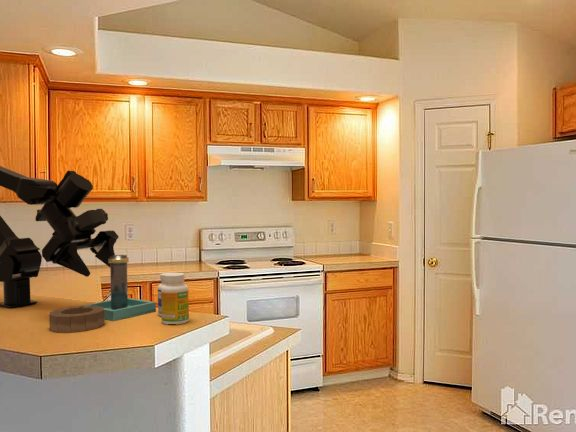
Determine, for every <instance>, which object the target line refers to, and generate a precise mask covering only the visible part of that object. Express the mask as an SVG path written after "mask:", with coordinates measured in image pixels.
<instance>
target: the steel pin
mask: <svg viewBox="0 0 576 432" xmlns="http://www.w3.org/2000/svg"><path fill="white" fill-rule="evenodd" d="M109 263H110V267H109V270H110V274H109V275H110V300H111V309H112V310H116V309H121V308H126V307H128V298H129V297H128V263H129V257H128V254H115V255H112V256H110V258H109Z"/></svg>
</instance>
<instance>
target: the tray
mask: <svg viewBox="0 0 576 432" xmlns="http://www.w3.org/2000/svg"><path fill="white" fill-rule="evenodd" d="M81 306H100V307H103V308H104V319H105V321H106V320H108V321H112V322H114V321H119V319H120V320H124V319H128V318H131V317H132V318H133V317H137V316H141V315H146V314H150V313H154V312H156V311H157V302H156V301H149V300H145V299H137V298H131V297H128V307H126V308H121V309H116V310H112V309H111V299H109V300H104V301H98V302H94V303H88V304H82V305H81Z"/></svg>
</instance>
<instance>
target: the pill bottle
mask: <svg viewBox="0 0 576 432" xmlns="http://www.w3.org/2000/svg"><path fill="white" fill-rule="evenodd" d="M169 273H175V272H174V271H173V272H164V273H160V274H159V275H160V278H159V280H160V282H161V283H160V284H159V285H157V309H158V310H157V311H158V312H157V313H158V315H159V316H160V317H162V305H161V288H162V286H163V285H165V284H166V282H165V280H164V275H165V274H169Z"/></svg>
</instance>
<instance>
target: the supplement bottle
mask: <svg viewBox="0 0 576 432" xmlns="http://www.w3.org/2000/svg"><path fill="white" fill-rule="evenodd" d="M168 273H169V274H165V275H164V280H165V282H166V284H165V285H163V286H162V288H161V305H162V316H161V323H163V324H164V325H168V324H176V325H182V324H183V325H184V324H186V323H188V322H189V319H190V309H189V307H190V305H189V303H190V301H189V287H188V285H187V283H184V282H185V277H186V276H185V273H180V272H174V273H171V272H168Z"/></svg>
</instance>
